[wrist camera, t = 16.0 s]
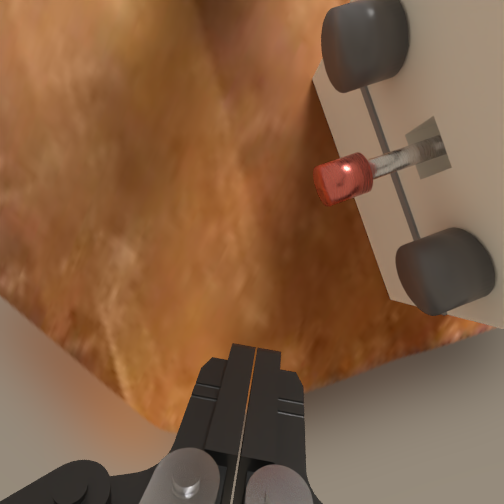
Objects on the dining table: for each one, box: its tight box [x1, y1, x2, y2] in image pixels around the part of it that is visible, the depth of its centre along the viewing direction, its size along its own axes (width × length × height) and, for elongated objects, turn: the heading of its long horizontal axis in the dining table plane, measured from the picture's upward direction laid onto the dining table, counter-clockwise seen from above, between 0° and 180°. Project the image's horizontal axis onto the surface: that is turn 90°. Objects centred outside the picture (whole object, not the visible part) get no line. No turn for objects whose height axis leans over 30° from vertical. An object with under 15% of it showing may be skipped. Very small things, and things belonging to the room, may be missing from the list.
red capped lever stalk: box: [313, 135, 447, 206], centre depth 20 cm, size 9×2×2 cm, turn 110°
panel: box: [312, 0, 504, 329], centre depth 22 cm, size 22×7×20 cm, turn 20°
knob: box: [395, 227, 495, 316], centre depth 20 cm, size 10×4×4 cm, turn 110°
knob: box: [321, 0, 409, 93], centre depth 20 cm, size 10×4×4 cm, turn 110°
